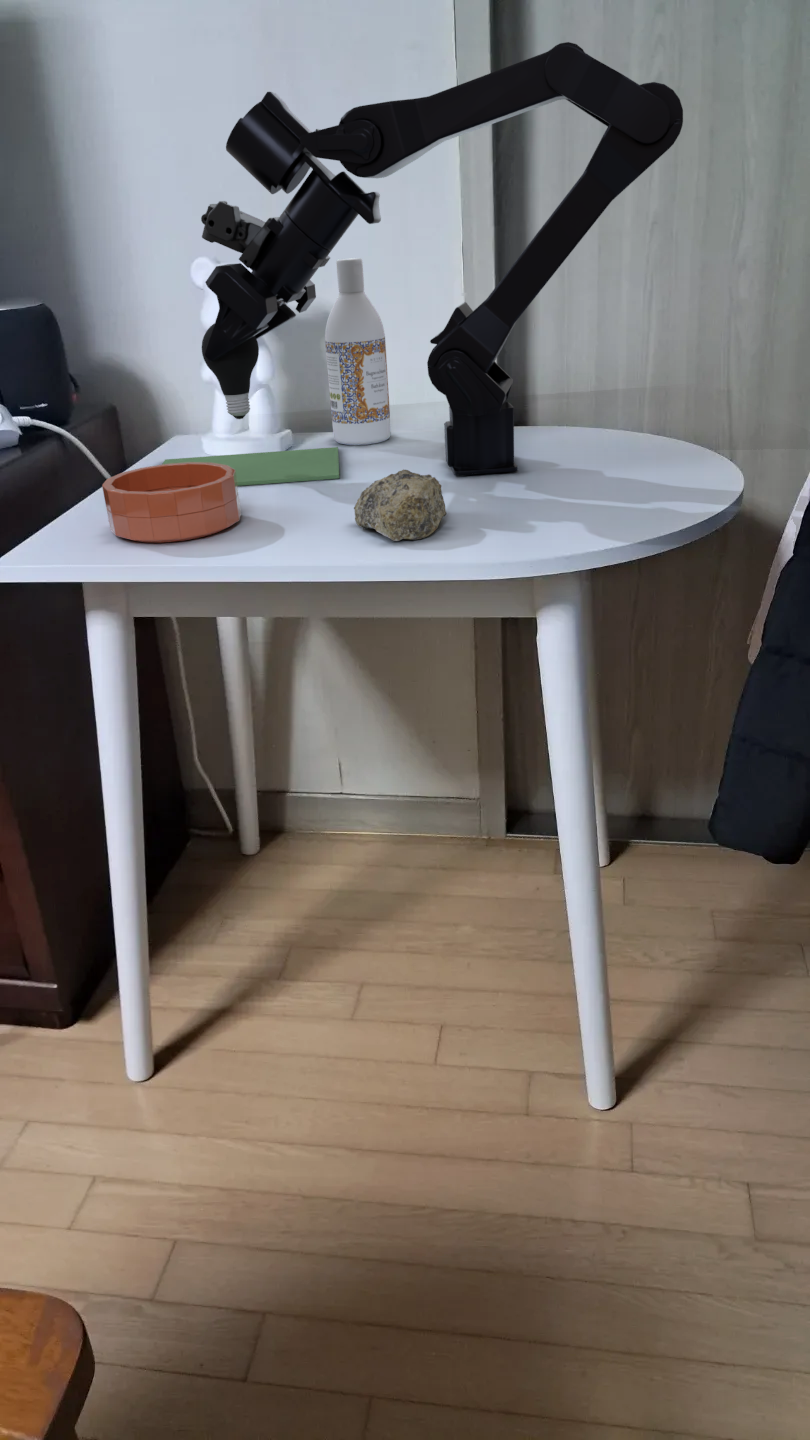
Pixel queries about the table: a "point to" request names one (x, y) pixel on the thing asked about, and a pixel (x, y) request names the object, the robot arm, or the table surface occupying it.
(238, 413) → the light bulb
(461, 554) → the table surface
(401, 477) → the rock
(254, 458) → the mat
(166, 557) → the table surface
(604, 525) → the table surface
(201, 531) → the pot
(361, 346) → the bath foam
